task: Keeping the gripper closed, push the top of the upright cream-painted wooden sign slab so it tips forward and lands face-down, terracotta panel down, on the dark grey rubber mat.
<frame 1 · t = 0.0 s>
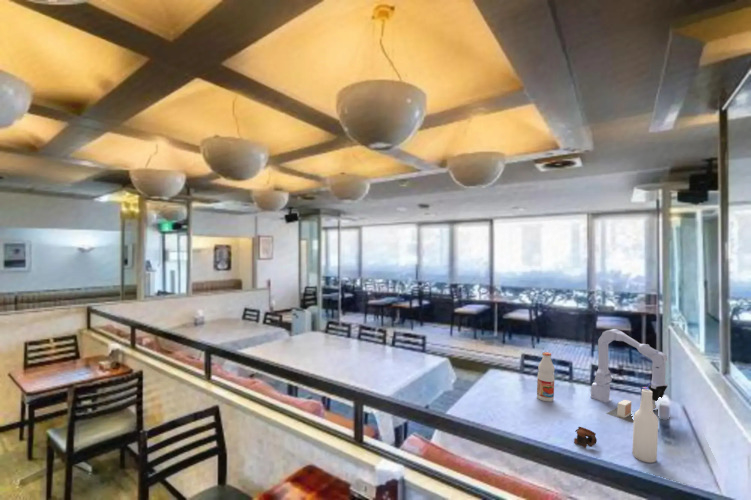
hand: (657, 398, 209), 10 cm above the table, fingers open, 7 cm apart
mat: (626, 415, 210), on the table
ink cartridge box: (650, 409, 220), on the table
sign slab: (624, 414, 210), resting on mat
pottery mug: (586, 445, 177), on the table
alcohol: (644, 458, 167), on the table
fruit juice: (545, 399, 230), on the table
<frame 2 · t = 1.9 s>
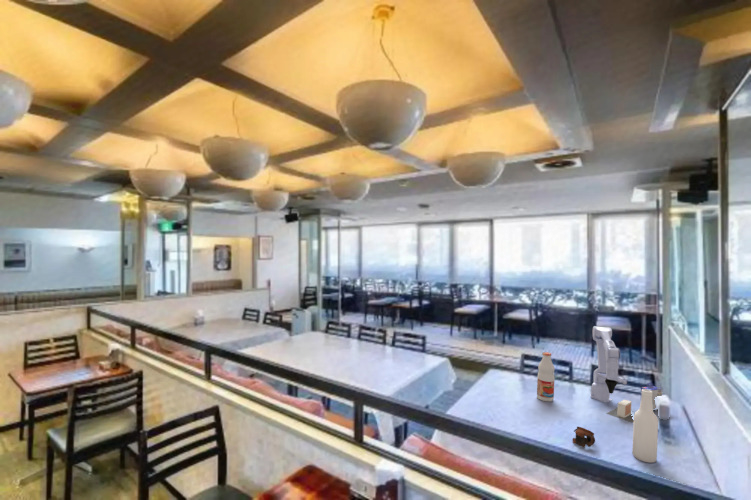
hand: (611, 392, 215), 10 cm above the table, fingers closed
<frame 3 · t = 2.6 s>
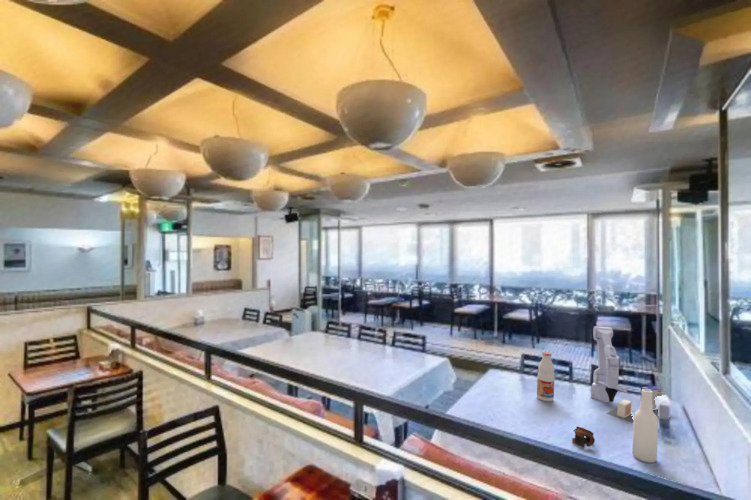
hand: (611, 401, 215), 6 cm above the table, fingers closed
nothing on the table moved.
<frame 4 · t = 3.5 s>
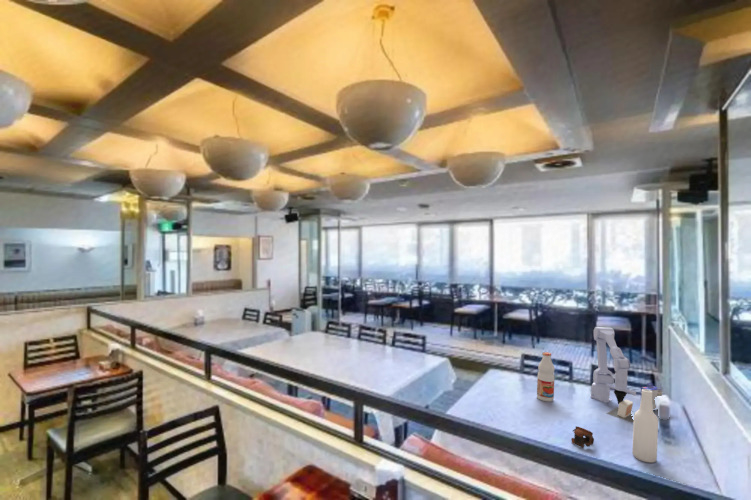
hand: (620, 404, 212), 6 cm above the table, fingers closed
sign slab: (624, 414, 210), point 1 cm above the table, tilted 6°, touching mat
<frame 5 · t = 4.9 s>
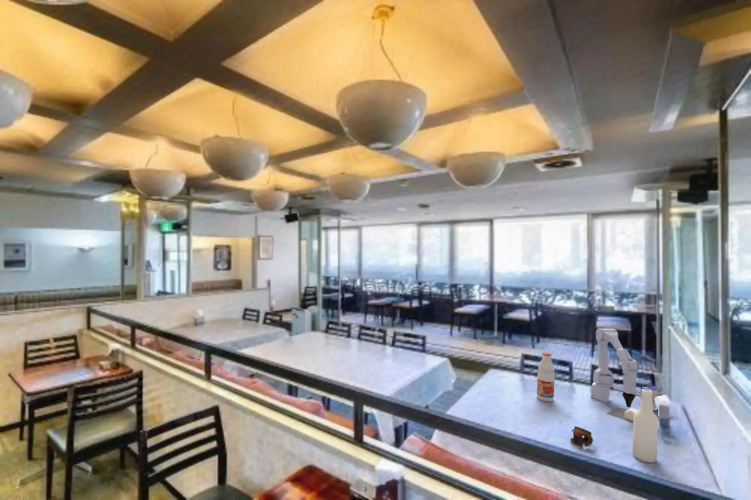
hand: (628, 406, 208), 6 cm above the table, fingers closed
sign slab: (627, 412, 208), point 2 cm above the table, tilted 90°, touching mat
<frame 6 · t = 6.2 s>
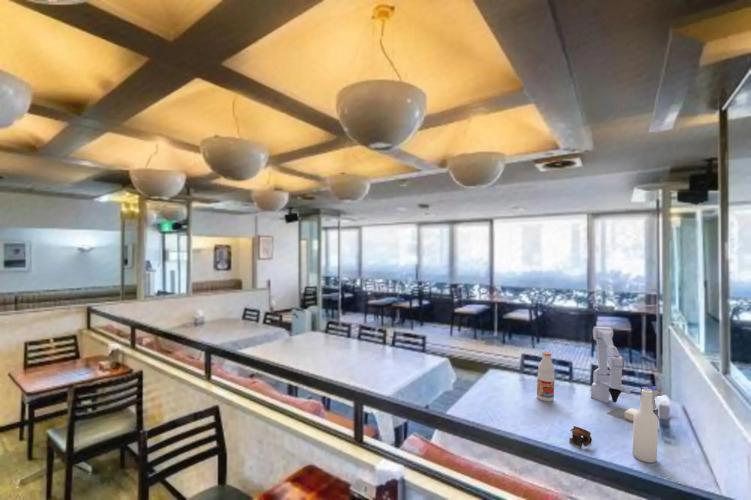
hand: (614, 401, 214), 6 cm above the table, fingers closed
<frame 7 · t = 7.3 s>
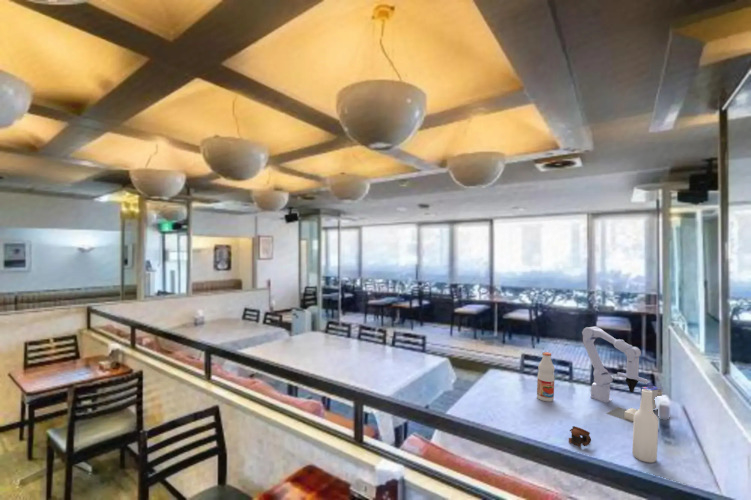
hand: (631, 391, 218), 10 cm above the table, fingers closed
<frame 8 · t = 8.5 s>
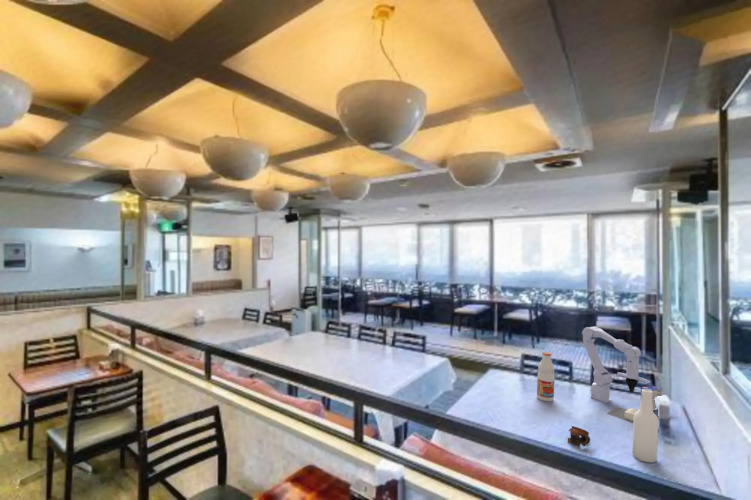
hand: (631, 391, 218), 10 cm above the table, fingers closed
at the end: sign slab tilted 90°; sign slab inside the target area (1.2 cm from its centre), point 2.2 cm above the table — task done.
